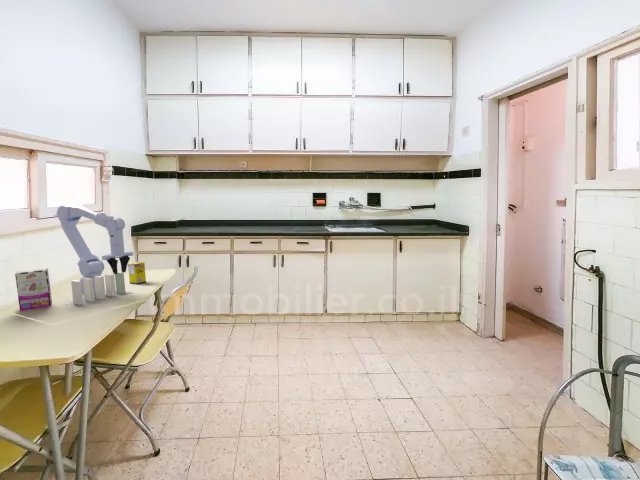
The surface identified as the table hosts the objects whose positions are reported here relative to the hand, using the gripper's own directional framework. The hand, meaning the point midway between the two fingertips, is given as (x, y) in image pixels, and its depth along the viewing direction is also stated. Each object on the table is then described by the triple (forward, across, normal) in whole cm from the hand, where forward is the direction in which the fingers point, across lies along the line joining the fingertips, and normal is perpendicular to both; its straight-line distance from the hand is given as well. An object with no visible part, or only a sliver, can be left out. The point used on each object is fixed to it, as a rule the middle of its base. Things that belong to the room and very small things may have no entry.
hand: (119, 273), depth 196 cm
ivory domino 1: (+10, -20, 0) cm, 22 cm away
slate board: (+10, -10, 0) cm, 14 cm away
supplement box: (+10, +19, +16) cm, 27 cm away
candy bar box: (+10, -32, +11) cm, 35 cm away
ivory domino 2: (+10, -15, 0) cm, 18 cm away
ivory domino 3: (+10, -10, 0) cm, 14 cm away
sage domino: (+10, 0, 0) cm, 10 cm away
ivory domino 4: (+10, -5, 0) cm, 11 cm away
